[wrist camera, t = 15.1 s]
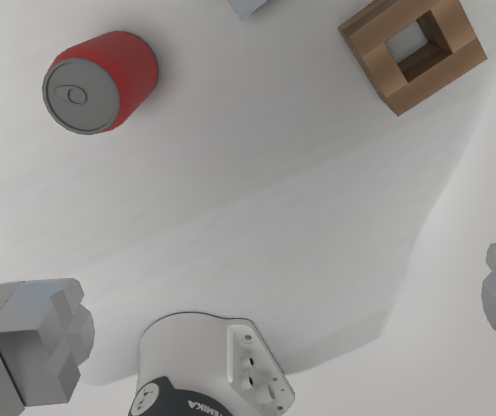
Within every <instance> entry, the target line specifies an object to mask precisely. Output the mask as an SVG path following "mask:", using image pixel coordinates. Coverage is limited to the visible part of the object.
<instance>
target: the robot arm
mask: <svg viewBox="0 0 496 416" xmlns="http://www.w3.org/2000/svg"><path fill="white" fill-rule="evenodd" d="M486 263H487V265H488V266H489V268H490V269H491V270H492V272H491V273H490V274H489V275H488V276H487V277H486V278H485V280H484V281H483V284H482V294H481V297H482V303H483V309H484V312H485V315H486V317H487V319H488V321H489V323H490V324H491V326H492V328H493V329H494V330H496V243H493V244H490V246H489V249H488V251H487V256H486ZM83 296H84V293H83V290H82V288H81V285H80V282H79V281H77V280H76V279H74V278H64V279H48V280H32V281H17V282H7V283H2V284H0V416H19V415H20V414H21V412H23V411H24V410H25V407H30V406H41V405H52V404H62V403H68V402H69V400H70V398H71V396H72V393H73V391H74V389H75V387H76V385H77V382H78V380H79V378H80V376H81V375H80V372H79V369H78V366H79V365H80V364H81V363H83V362H84V361H85V360H86V359H88V358H89V355H90V353H91V350H92V348H93V343H94V335H95V331H94V323H93V319H92V316H91V313H90V311H88V310H87V309H86V308H85V307H83V306H82V305H81V304H80V303H81V301H82V298H83ZM246 335H250V336H246ZM294 398H295V393H294V391H293V389H292V387H291V386H290V384H289V382H288V381H287V379H286V377H285V376H284V374H283V372H282V371H281V369H280V367H279V366H278V364H277V362H276V361H275V359H274V358H273V356H272V354H271V353H270V351H269V349H268V348H267V346H266V344H265V343H264V341H263V339H262V338H261V336H260V334H259V333H258V331H257V329H256V328H255V326H254V324H253V323H252V322H251V321H249V320H245V319H228V320H226V319H221V318H217V317H213V316H210V315H206V314H199V313H181V314H175V315H171V316H168V317H165V318H163V319H161V320H159V321H157V322H155V323H154V324H153V325H151V326H150V327H149V328H148V329H147V330H146V332H145V333H144V334H143V336H142V338H141V340H140V343H139V371H138V381H137V389H136V396H135V399H134V401H133V403H132V406H131V408H130V411H129V414H128V416H281V415H282V414H283V413H285V412H286V411H287V410H288V409H289V408H290V406H291V405H292V403H293V401H294Z"/></svg>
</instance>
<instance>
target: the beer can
mask: <svg viewBox="0 0 496 416" xmlns="http://www.w3.org/2000/svg"><path fill="white" fill-rule="evenodd" d="M156 80H157V63H156V60H155V57H154V54H153V53H152V51H151V50H150V48H149V47H148V45H147V44H146V43H144V42H143V41H142V40H141V39H140V38H139V37H137V36H135V35H132V34H130V33H128V32H119V31H114V32H110V33H106V34H103V35H101V36H98V37H96V38H93V39H91V40H88V41H86V42H83V43H81V44H78V45H76V46H73V47H71V48H68V49H67V50H65V51H64V52H62V53H61V54H60V55H58V56H57V57H56V59H55V60H54V62H53V63H52V65H51V66H50V68H49V69H48V72H47V74H46V75H45V77H44V81H43V86H42V92H43V100H44V103H45V105H46V107H47V110H48V112H49V113H50V114H51V116H52V117H53V118H54V119H55V121H56V122H57V123H59V124H60V125H61V126H63V127H64V128H66V129H67V130H70V131H72V132H75V133H77V134H85V135H92V134H97V133H101V132H106V131H110V130H113V129H115V128H116V127H118V126H119V125H121V124H123V123H124V121H125V120H126V119H127V118H128V117H129V116H130V115H131V114H132V113H133V112H134V110H135V109H136V108H137V107H138V106H139V105H140V104H141V103H142V102H143V101H144V99H145V98H146V97H147V96H148V95H149V94H150V92H151V91H152V90H153V88H154V86H155V83H156Z"/></svg>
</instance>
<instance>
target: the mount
mask: <svg viewBox="0 0 496 416" xmlns="http://www.w3.org/2000/svg"><path fill="white" fill-rule="evenodd" d="M414 20H417V22H418V24H419V26H420V28H421V29H422V31H423V33H424V35H425V37H426V39H427V41H428V42H429V43H428V44H426V45H425V46H423V47H422V48H420V49H419V50H417V51H416V52H415V53H413V54H412V55H410V56H409V57H407V58H406V59H404V60H403V61H401V62H400V63H398V64H397V63H396V62H395V60H394V58H393V57H392V55H391V53H390V51H389V50H388V48H387V46H386V45H385V43H384V42H385V41H386V40H388V39H389V38H390V37H392V36H393V35H395V34H396V33H397V32H399V31H400V30H402V29H403V28H405V27H406V26H407V25H409V24H410V23H412V22H413V21H414ZM338 30H339V31H340V33H341V35H342V36H343V38H344V39H345V41H346V43H347V44H348V46H349V48H350V49H351V51H352V52H353V54H354V56H355V57H356V59H357V61H358V62H359V64H360V65H361V67H362V69H363V70H364V72H365V74H366V75H367V77H368V78H369V80H370V82H371V83H372V85H373V87H374V88H375V90H376V91H377V93H378V95H379V96H380V98H381V99H382V100H383V102H384V103H385V104H386V105H387V106H388V107H389V108H390V109H391V110H392V111H393V112H394V113H395V114H396V115H397V116H400V115H401V114H403V113H404V112H406V111H407V110H409V109H410V108H412V107H414V106H415V105H417V104H418V103H420V102H421V101H423V100H424V99H426V98H427V97H429V96H431V95H432V94H434V93H435V92H437V91H438V90H440V89H441V88H443V87H444V86H446V85H448V84H449V83H451V82H452V81H454V80H455V79H457V78H458V77H460V76H461V75H463V74H465V73H466V72H468V71H469V70H471V69H472V68H474V67H475V66H477V65H478V64H480V63H482V62H483V61H485V60H486V59H488V58H487V56H486V54H485V52H484V50H483V48H482V46H481V44H480V42H479V40H478V38H477V36H476V34H475V32H474V30H473V28H472V26H471V24H470V22H469V20H468V18H467V16H466V14H465V12H464V10H463V8H462V6H461V4H460V2H459V0H375V1H374V2H372V3H371V4H369V5H368V6H367V7H365V8H364V9H363V10H361V11H360V12H359V13H357V14H356V15H355V16H353V17H352V18H351V19H349V20H348V21H347V22H345V23H344V24H342V25H341V26H340V27H338Z"/></svg>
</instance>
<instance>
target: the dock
mask: <svg viewBox="0 0 496 416" xmlns="http://www.w3.org/2000/svg"><path fill="white" fill-rule="evenodd" d="M228 1H229V3H230V4H231V5H232V7H233V8H234V10H235V11H236V13H237V14H238V16H239V17H240V18H241V20H243V19H245V18H246V17H247V16H248V15H250V14H251V13H252V12H253V11H255V10H256V9H257V8H258V7H260V6H261V5H262V4H263V3H265V2H266V1H267V0H228Z"/></svg>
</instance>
